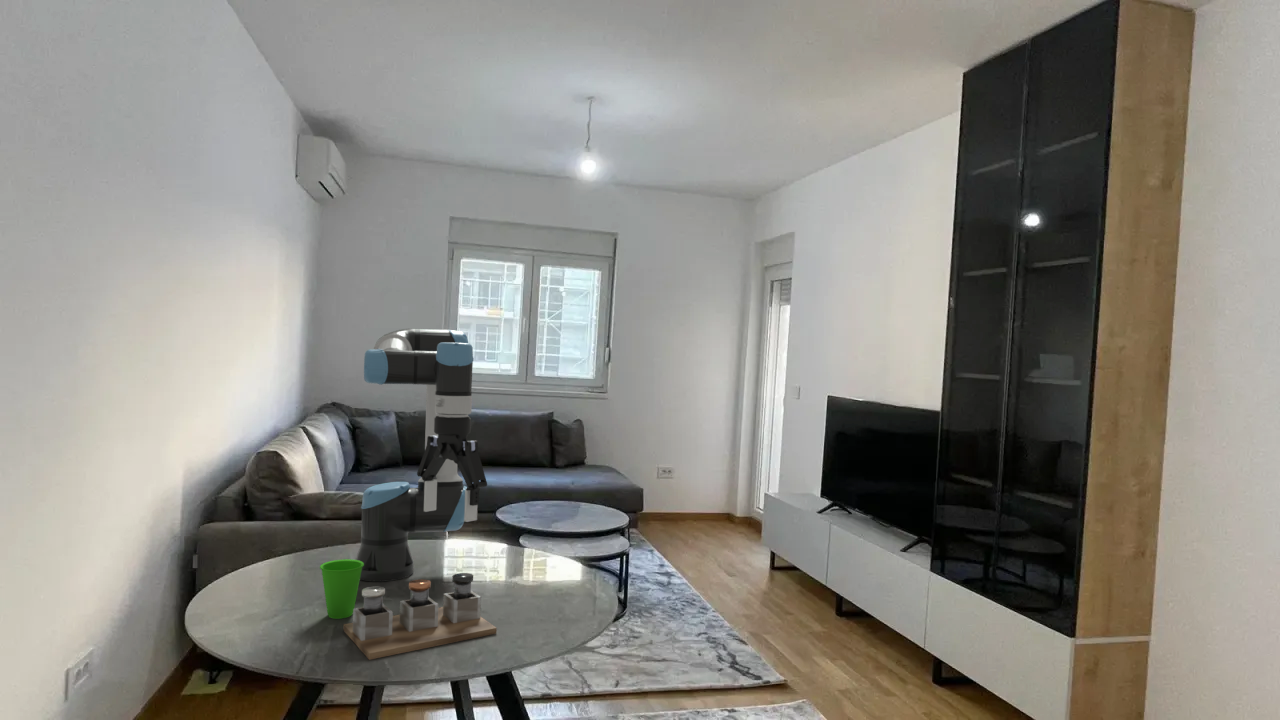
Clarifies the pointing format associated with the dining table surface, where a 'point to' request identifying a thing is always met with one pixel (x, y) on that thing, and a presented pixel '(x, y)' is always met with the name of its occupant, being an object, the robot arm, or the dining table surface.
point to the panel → (418, 626)
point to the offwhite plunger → (373, 600)
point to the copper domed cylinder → (419, 592)
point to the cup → (341, 586)
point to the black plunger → (462, 585)
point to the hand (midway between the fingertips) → (449, 515)
